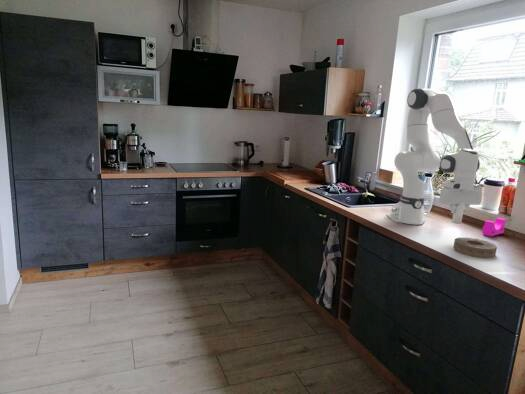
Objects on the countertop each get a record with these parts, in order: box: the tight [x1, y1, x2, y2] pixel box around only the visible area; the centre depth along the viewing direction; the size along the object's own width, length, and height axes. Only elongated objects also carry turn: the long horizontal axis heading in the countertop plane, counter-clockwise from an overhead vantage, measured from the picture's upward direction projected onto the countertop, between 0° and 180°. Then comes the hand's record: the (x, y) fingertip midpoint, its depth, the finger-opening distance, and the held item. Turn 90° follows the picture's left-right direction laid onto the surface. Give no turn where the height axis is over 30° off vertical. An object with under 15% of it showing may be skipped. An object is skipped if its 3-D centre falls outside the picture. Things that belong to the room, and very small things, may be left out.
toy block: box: [482, 217, 507, 238], centre depth 208 cm, size 15×6×8 cm, turn 126°
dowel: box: [451, 203, 465, 225], centre depth 184 cm, size 4×4×10 cm
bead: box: [453, 236, 498, 259], centre depth 174 cm, size 16×16×4 cm
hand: (458, 213), depth 184 cm, fingers closed on dowel, 4 cm apart
